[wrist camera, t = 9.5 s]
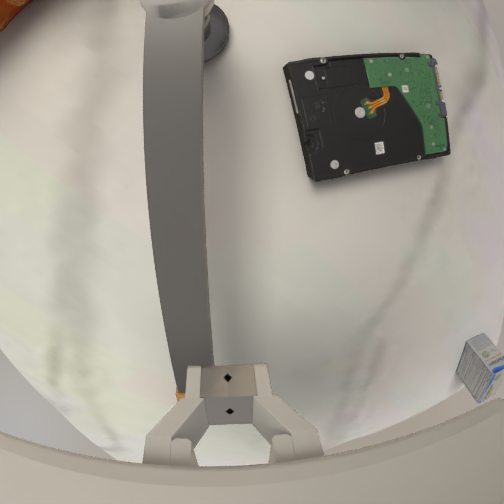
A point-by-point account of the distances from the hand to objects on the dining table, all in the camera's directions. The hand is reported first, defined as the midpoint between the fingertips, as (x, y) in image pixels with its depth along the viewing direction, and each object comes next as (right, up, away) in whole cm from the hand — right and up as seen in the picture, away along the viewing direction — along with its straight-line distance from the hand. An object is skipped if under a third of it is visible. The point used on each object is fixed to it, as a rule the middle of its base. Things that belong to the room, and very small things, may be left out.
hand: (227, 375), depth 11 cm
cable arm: (-3, +7, +8) cm, 11 cm away
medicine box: (+38, -12, +30) cm, 50 cm away
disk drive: (+12, +18, +13) cm, 25 cm away
